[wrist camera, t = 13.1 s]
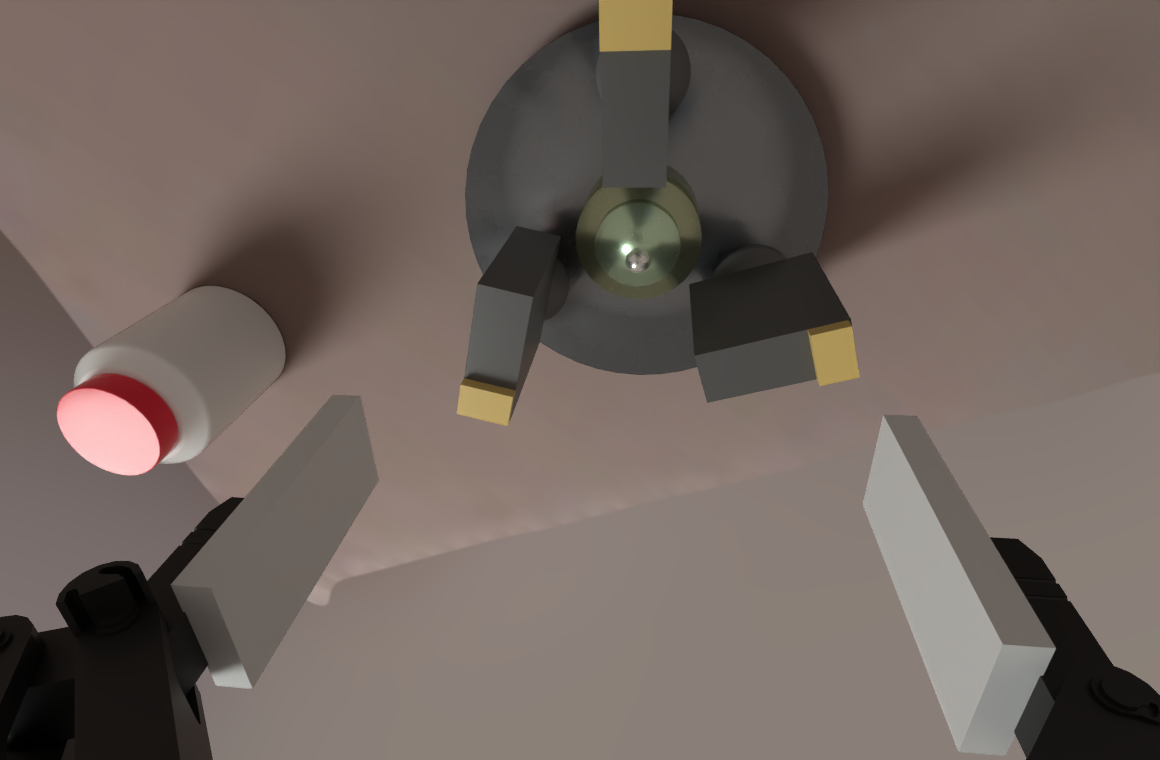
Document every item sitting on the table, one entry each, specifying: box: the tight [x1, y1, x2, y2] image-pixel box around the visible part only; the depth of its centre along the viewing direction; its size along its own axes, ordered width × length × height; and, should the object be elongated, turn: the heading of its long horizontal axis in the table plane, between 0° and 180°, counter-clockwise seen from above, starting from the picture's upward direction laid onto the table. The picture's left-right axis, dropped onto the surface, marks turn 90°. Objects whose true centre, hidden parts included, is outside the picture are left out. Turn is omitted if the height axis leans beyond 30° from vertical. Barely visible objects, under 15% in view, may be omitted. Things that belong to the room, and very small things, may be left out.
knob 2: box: [596, 0, 691, 188], centre depth 28 cm, size 6×4×10 cm
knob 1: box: [457, 226, 570, 426], centre depth 33 cm, size 6×4×10 cm
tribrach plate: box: [465, 14, 829, 375], centre depth 34 cm, size 19×19×7 cm
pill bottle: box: [57, 286, 286, 475], centre depth 39 cm, size 8×8×11 cm
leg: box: [689, 244, 860, 403], centre depth 32 cm, size 6×4×10 cm
